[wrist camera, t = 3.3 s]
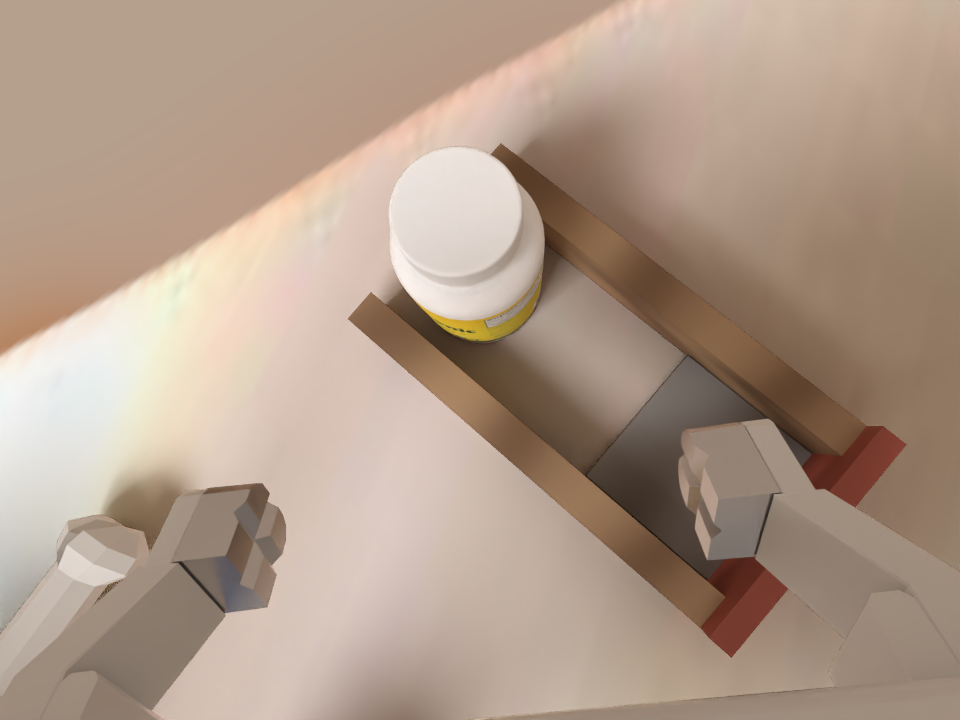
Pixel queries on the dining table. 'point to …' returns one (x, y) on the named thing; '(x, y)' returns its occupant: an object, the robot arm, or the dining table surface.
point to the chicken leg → (70, 587)
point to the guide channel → (657, 422)
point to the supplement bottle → (467, 243)
